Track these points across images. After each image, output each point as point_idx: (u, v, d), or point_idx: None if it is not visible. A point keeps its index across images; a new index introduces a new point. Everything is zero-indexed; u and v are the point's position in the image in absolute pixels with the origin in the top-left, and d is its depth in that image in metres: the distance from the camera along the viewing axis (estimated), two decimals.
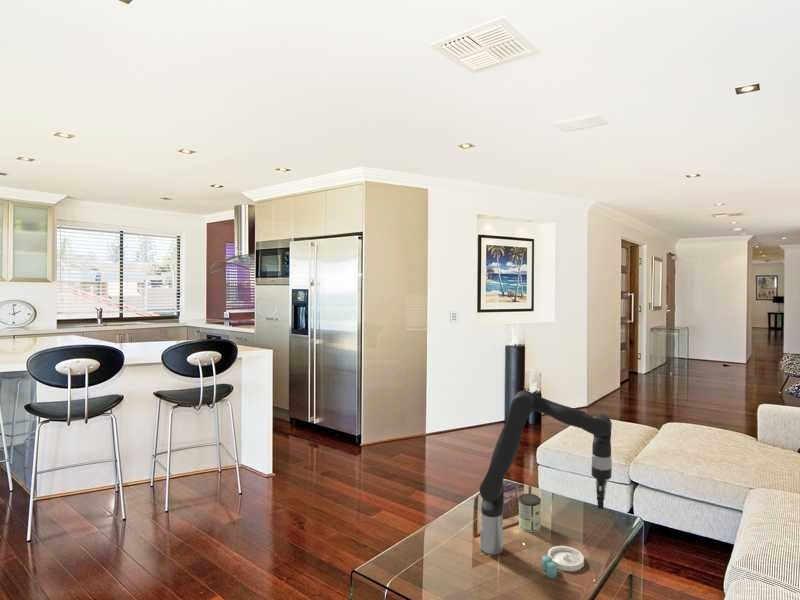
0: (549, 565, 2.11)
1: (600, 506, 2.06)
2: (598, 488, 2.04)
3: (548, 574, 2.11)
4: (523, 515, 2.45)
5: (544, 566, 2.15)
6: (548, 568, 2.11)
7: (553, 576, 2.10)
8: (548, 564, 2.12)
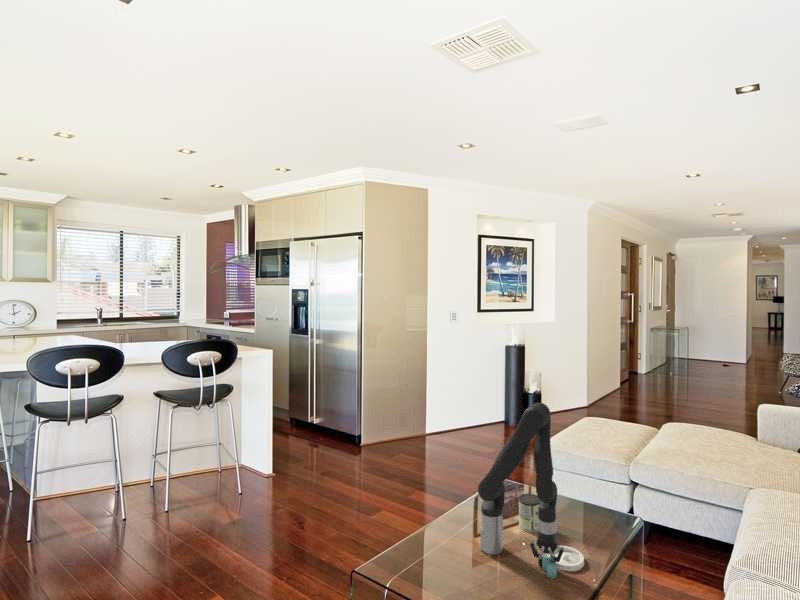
0: (549, 565, 2.11)
1: None
2: None
3: (548, 574, 2.11)
4: (523, 515, 2.45)
5: (544, 566, 2.15)
6: (548, 568, 2.11)
7: (553, 576, 2.10)
8: (548, 564, 2.12)
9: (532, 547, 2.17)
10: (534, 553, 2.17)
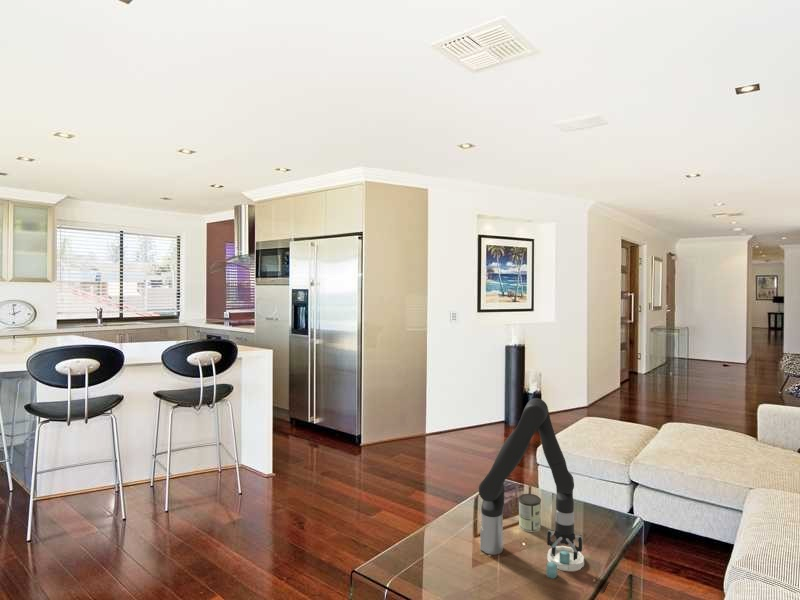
0: (549, 565, 2.11)
1: (576, 556, 2.16)
2: (581, 540, 2.14)
3: (548, 574, 2.11)
4: (523, 515, 2.45)
5: (562, 562, 2.17)
6: (548, 568, 2.11)
7: (553, 576, 2.10)
8: (548, 564, 2.12)
9: (548, 535, 2.19)
10: (548, 541, 2.19)
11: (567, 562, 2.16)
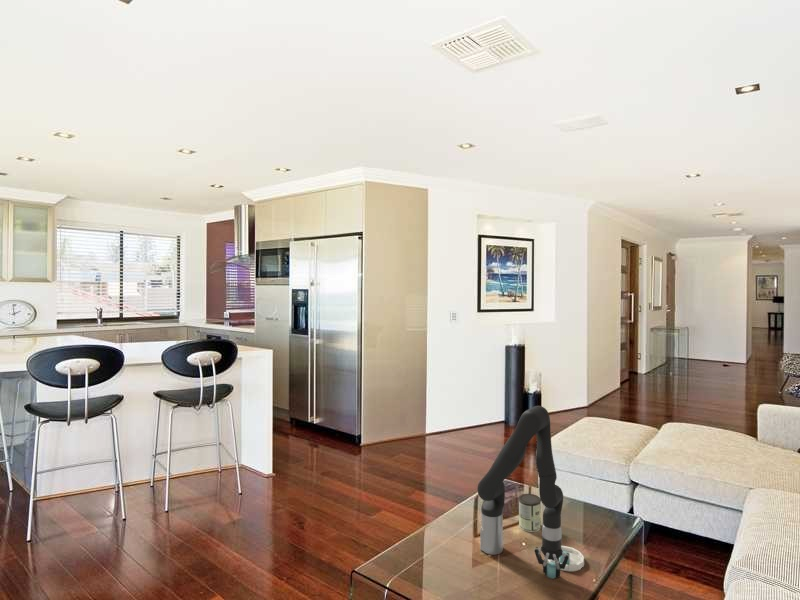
0: (549, 565, 2.11)
1: None
2: (568, 558, 2.08)
3: (548, 574, 2.11)
4: (523, 515, 2.45)
5: (562, 562, 2.17)
6: (548, 568, 2.11)
7: (553, 576, 2.10)
8: (548, 564, 2.12)
9: (536, 553, 2.13)
10: (538, 560, 2.12)
11: (567, 562, 2.16)
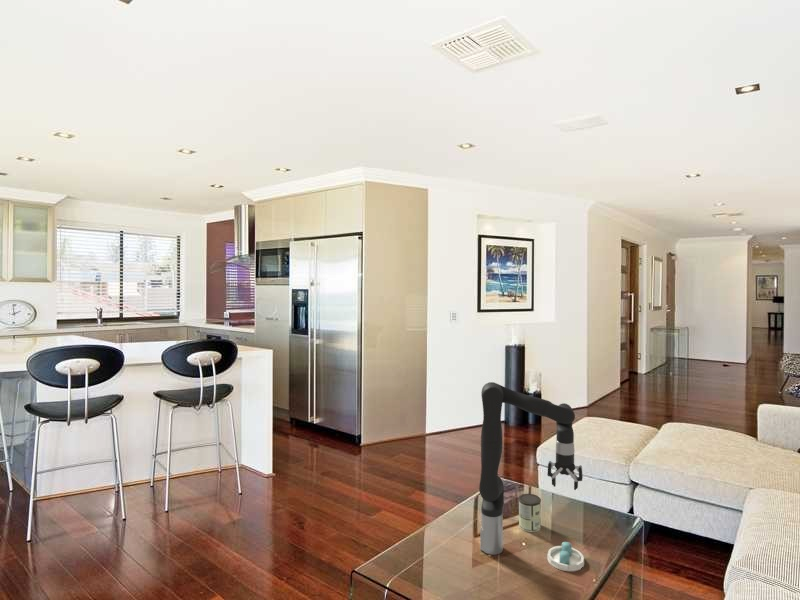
0: (564, 544, 2.24)
1: None
2: (581, 469, 2.20)
3: None
4: (523, 515, 2.45)
5: (562, 562, 2.17)
6: (563, 547, 2.24)
7: None
8: (563, 543, 2.25)
9: (549, 467, 2.25)
10: (548, 472, 2.25)
11: (567, 562, 2.16)
